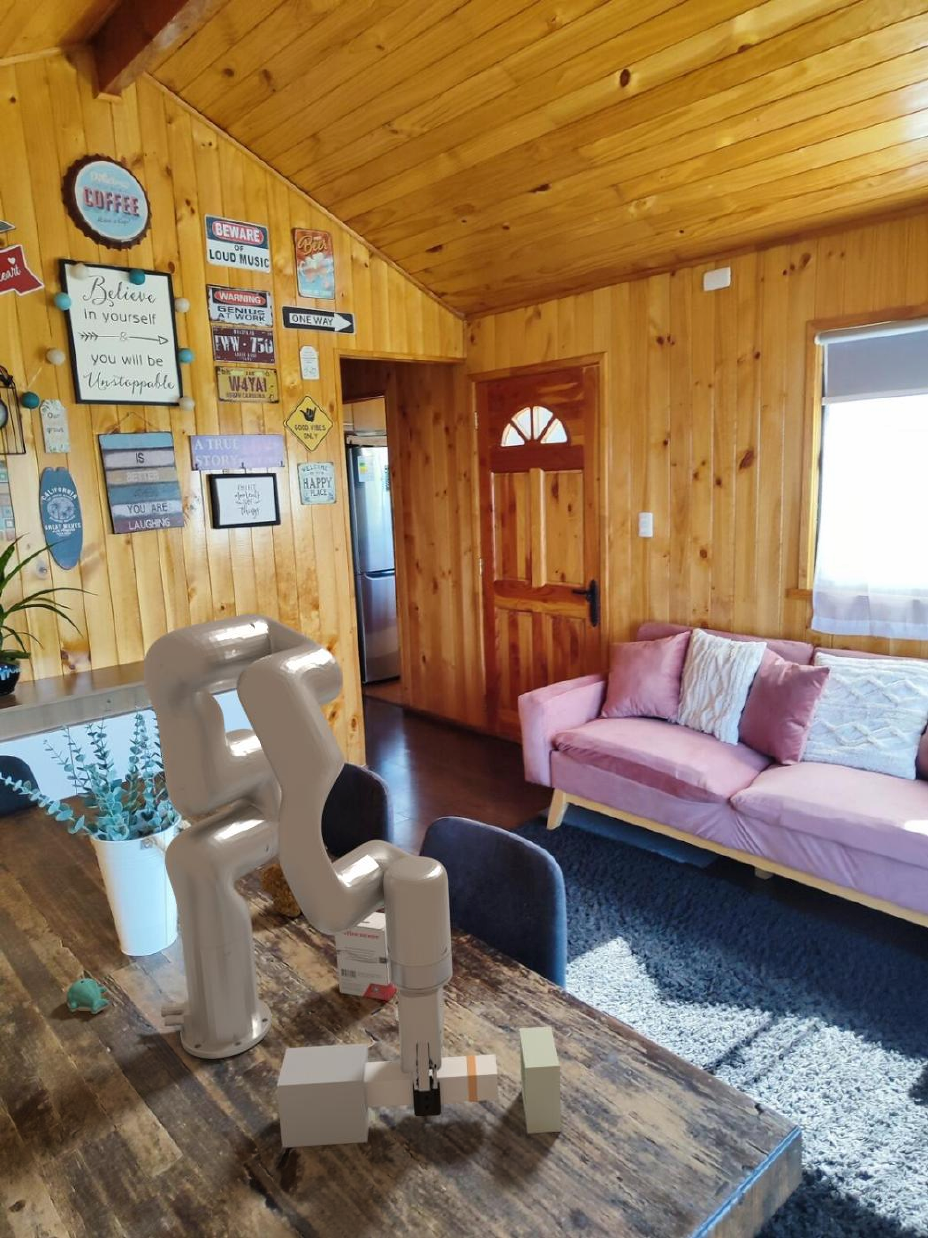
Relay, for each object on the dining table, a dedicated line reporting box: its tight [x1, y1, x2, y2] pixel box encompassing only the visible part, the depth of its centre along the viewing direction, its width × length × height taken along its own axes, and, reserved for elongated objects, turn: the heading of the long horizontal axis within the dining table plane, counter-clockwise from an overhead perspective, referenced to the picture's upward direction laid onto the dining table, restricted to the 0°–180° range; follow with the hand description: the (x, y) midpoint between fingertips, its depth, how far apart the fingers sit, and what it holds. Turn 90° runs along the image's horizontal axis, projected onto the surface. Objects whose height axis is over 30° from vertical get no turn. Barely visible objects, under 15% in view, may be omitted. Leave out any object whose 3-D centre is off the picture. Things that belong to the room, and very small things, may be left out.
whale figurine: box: [66, 977, 110, 1014], centre depth 125 cm, size 6×7×4 cm
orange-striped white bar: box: [364, 1053, 499, 1109], centre depth 100 cm, size 24×4×4 cm, turn 92°
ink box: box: [334, 911, 398, 1002], centre depth 126 cm, size 9×5×12 cm, turn 71°
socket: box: [518, 1026, 562, 1134], centre depth 100 cm, size 4×7×9 cm, turn 2°
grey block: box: [276, 1042, 372, 1148], centre depth 99 cm, size 10×6×8 cm, turn 92°
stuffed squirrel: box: [258, 844, 333, 918], centre depth 152 cm, size 10×14×13 cm
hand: (428, 1099), depth 100 cm, fingers closed on orange-striped white bar, 3 cm apart
